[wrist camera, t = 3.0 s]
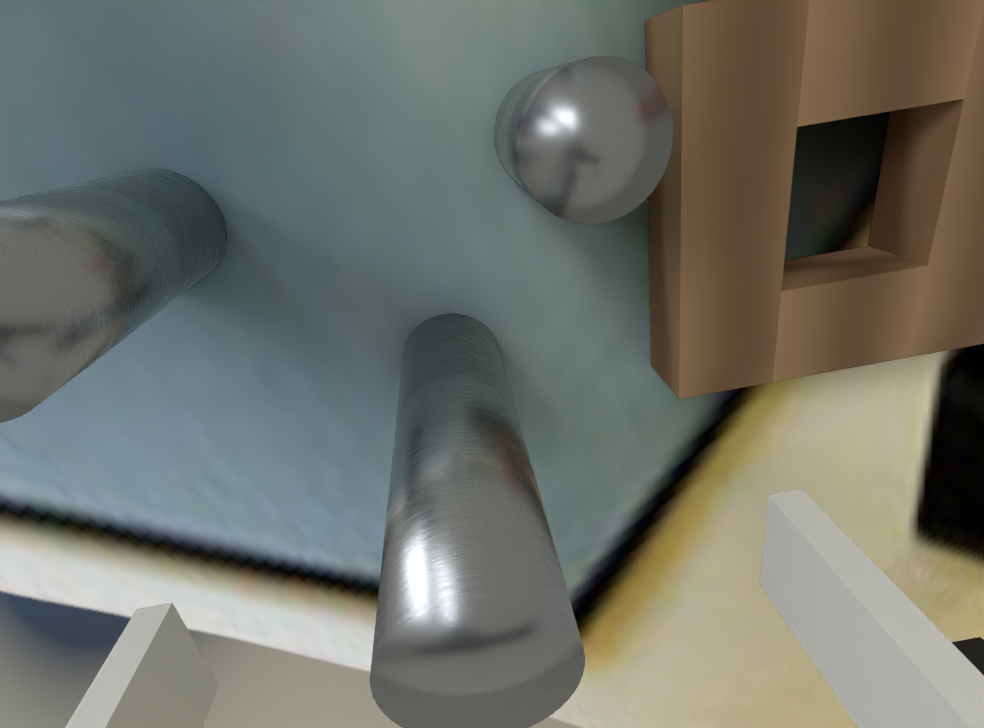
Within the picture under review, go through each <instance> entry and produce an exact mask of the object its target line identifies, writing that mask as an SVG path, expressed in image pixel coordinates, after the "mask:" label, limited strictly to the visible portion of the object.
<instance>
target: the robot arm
mask: <svg viewBox="0 0 984 728" xmlns="http://www.w3.org/2000/svg"><path fill="white" fill-rule="evenodd" d="M760 585H761V587H762V588H763V590H764V591H765V593H766V594H767V596H768V597H769V599H770V600H771V602H772V603H773V604H774V606H775V607H776V609H777V610H778V612H779V613H780V615H781V616H782V618H783V619H784V621H785V622H786V623H787V625H788V626H789V628H790V629H791V631H792V632H793V634H794V635H795V637H796V638H797V640H798V641H799V643H800V644H801V645H802V647H803V648H804V650H805V651H806V653H807V654H808V656H809V657H810V659H811V660H812V662H813V663H814V664H815V666H816V667H817V669H818V670H819V672H820V673H821V675H822V676H823V678H824V679H825V681H826V682H827V683H828V685H829V686H830V688H831V689H832V691H833V692H834V694H835V695H836V697H837V698H838V700H839V701H840V702H841V704H842V705H843V707H844V708H845V710H846V711H847V713H848V714H849V716H850V717H851V719H852V720H853V721H854V723H855V724H856V726H857V727H858V728H984V640H983V639H982V638H980V637H978V638H973V639H968V640H962V641H957V642H951V641H950V640H949V639H948V638H947V637H946V636H945V635H944V634H943V633H942V632H941V631H940V630H939V629H938V628H937V627H936V626H935V625H934V624H933V623H932V622H931V621H930V620H929V619H928V618H927V617H926V616H925V615H924V614H923V613H922V612H921V611H920V610H919V608H918V607H917V606H916V605H915V604H914V603H913V602H912V601H911V600H910V599H909V598H908V597H907V596H906V595H905V594H904V593H903V592H902V591H901V590H900V589H899V588H898V587H897V586H896V585H895V584H894V583H893V582H892V581H891V580H890V579H889V578H888V577H887V575H886V574H885V573H884V572H883V571H882V570H881V569H880V568H879V567H878V566H877V565H876V564H875V563H874V562H873V561H872V560H871V559H870V558H869V557H868V556H867V555H866V554H865V553H864V552H863V551H862V550H861V549H860V548H859V547H858V546H857V545H856V544H855V543H854V541H853V540H852V539H851V538H850V537H849V536H848V535H847V534H846V533H845V532H844V531H843V530H842V529H841V528H840V527H839V526H838V525H837V524H836V523H835V522H834V521H833V520H832V519H831V518H830V517H829V516H828V515H827V514H826V513H825V512H824V511H823V510H822V509H821V507H820V506H819V505H818V504H817V503H816V502H815V501H814V500H813V499H812V498H811V497H810V496H809V495H808V494H807V493H806V492H805V491H804V490H803V489H797V490H792V491H786V492H781V493H775V494H770V495H768V504H767V514H766V525H765V536H764V546H763V557H762V568H761V579H760ZM218 685H219V684H218V682H217V681H216V679H215V677H214V675H213V674H212V672H211V670H210V669H209V667H208V665H207V663H206V661H205V660H204V658H203V656H202V654H201V653H200V651H199V649H198V647H197V646H196V644H195V642H194V640H193V638H192V637H191V635H190V633H189V631H188V630H187V628H186V626H185V624H184V623H183V621H182V619H181V617H180V615H179V614H178V612H177V610H176V608H175V607H174V605H173V603H168V604H162V605H157V606H151V607H146V608H140V609H136V611H135V613H134V614H133V616H132V618H131V619H130V621H129V623H128V624H127V626H126V628H125V629H124V631H123V633H122V634H121V636H120V638H119V639H118V641H117V643H116V644H115V646H114V648H113V649H112V651H111V653H110V654H109V656H108V658H107V659H106V661H105V663H104V664H103V666H102V668H101V669H100V671H99V673H98V674H97V676H96V678H95V679H94V681H93V683H92V684H91V686H90V687H89V689H88V691H87V692H86V694H85V696H84V697H83V699H82V701H81V702H80V704H79V706H78V708H77V709H76V711H75V712H74V714H73V716H72V717H71V719H70V721H69V722H68V724H67V726H66V727H65V728H202V727H203V725H204V722H205V720H206V717H207V714H208V712H209V709H210V706H211V704H212V701H213V698H214V696H215V693H216V691H217V688H218Z"/></svg>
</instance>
